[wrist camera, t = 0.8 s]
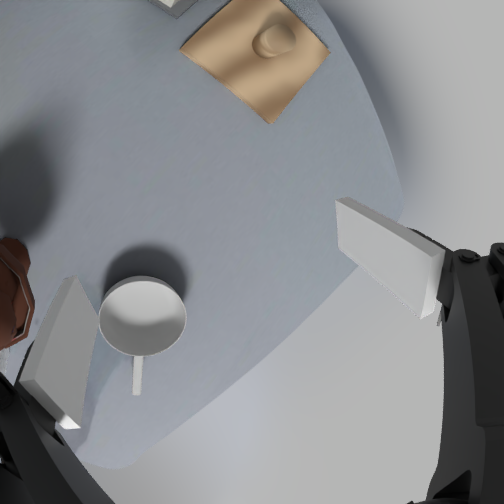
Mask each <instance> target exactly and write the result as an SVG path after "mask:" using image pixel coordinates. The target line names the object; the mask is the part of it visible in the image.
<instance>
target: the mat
mask: <svg viewBox="0 0 504 504" xmlns="http://www.w3.org/2000/svg"><path fill="white" fill-rule="evenodd" d="M148 1H150V2H151V3H153V4H154V5H156V6H158V7H159V8H161V9H162V10H164V11H165V12H167V13H168V14H170V15H171V16H173V17H174V18H175V19H177V18H178V17H180V16H181V15H182V14H183V13H184V12H185V11H186V10H187V9H189V8H190V7H191V6H192V5H193V4H194V3H195V2H197V1H198V0H179V1H178V2H177V3H176V4H175V5H173V6H172V7H171V8H170V7H169V6H167V5H166V4H164V3H163V2H161V1H159V0H148Z"/></svg>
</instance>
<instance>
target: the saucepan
mask: <svg viewBox="0 0 504 504" xmlns="http://www.w3.org/2000/svg"><path fill="white" fill-rule="evenodd" d="M98 318H99V319H100V321H99V328H100V331H101V333H102V335H103V337H104V339H105V340H106V341H107V343H108V344H110V345H111V346H112V347H113V348H114V349H116V350H118V351H119V352H122V353H124V354H127V355H131V356H134V361H133V381H132V394H133V395H140V394H141V385H142V370H143V358H144V356H151V355H155V354H158V353H161V352H163V351H165V350H167V349H168V348H170V347H171V346H172V345H173V344H175V343H176V342H177V341H178V339H179V338H180V337H181V335H182V333H183V331H184V329H185V325H186V319H187V316H186V310H185V306H184V304H183V302H182V300H181V298H180V297H179V295H178V294H177V293H176V291H175V290H174V289H173V288H172V287H171V286H170V285H169V284H167V283H166V282H164V281H162V280H160V279H157V278H155V277H149V276H133V277H129V278H126V279H123V280H122V281H120V282H118V283H116V284H115V285H114V286H112V287H111V288H110V289H109V290H108V291H107V293H106V294H105V296H104V298H103V300H102V303H101V306H100V310H99V317H98Z"/></svg>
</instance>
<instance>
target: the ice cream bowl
mask: <svg viewBox="0 0 504 504" xmlns="http://www.w3.org/2000/svg"><path fill="white" fill-rule="evenodd" d="M30 264H31V263H30V259H29V255H28V251H27V249H26V248H25V247H24V246H23V245H22V244H21V243H20V242H19V241H18V240H17V239H11V238H4V239H2V240H1V241H0V351H1V350H3V349H4V348H5V349H7V348H8V347H10V346H12V345H14V344H16V343H17V342H19V341H21V340H23V339H25V338H26V337H27V336H28V332H29V328H30V324H31V320H32V317H33V313H34V309H35V300H34V297H33V294H32V291H31V288H30V285H29V282H28V278H27V273H28V270H29V267H30Z"/></svg>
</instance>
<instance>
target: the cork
mask: <svg viewBox="0 0 504 504" xmlns="http://www.w3.org/2000/svg"><path fill="white" fill-rule="evenodd" d="M295 44H296V37H295V34H294V32H293V31H292V30H291V29H290V28H289V27H287V26H285V25H281V24H277V25H274V26H272V27H271V28H269V29H267V30H265V31H264V32H262V33H260V34H258V35H257V36H255V37H254V39H253V41H252V48H253V50H254V52H255V53H256V54H257V55H258V56H259V57H261V58H265V59H269V58H272V57H275V56H277V55H280V54H282V53H285V52H287V51H290V50H292V49H293V48H294V47H295Z"/></svg>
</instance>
